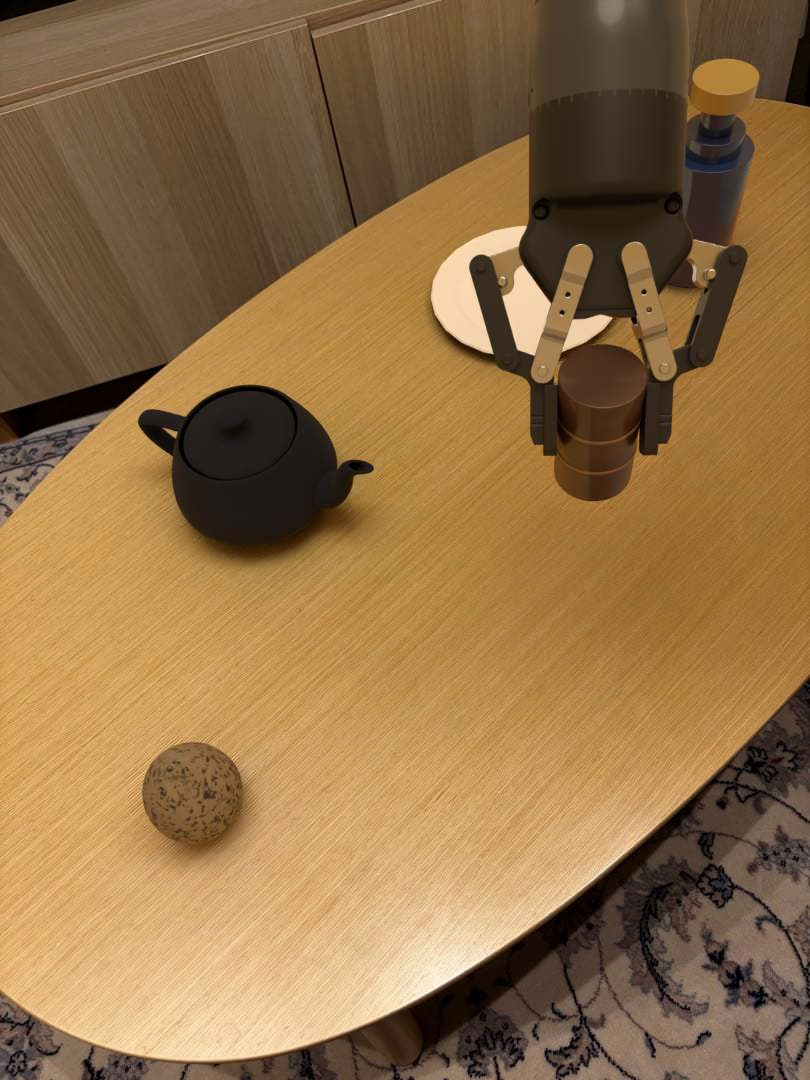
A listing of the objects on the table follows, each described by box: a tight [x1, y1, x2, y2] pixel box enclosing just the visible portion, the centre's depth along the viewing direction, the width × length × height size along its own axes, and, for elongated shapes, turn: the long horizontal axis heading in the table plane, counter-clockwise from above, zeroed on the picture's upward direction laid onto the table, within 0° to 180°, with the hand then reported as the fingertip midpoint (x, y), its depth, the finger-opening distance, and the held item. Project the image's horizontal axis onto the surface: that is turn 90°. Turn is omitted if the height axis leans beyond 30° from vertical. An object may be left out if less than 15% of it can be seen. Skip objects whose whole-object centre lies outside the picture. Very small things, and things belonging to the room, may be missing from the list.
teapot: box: [137, 384, 375, 548], centre depth 80 cm, size 25×16×12 cm, turn 67°
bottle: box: [668, 58, 760, 289], centre depth 87 cm, size 8×8×21 cm
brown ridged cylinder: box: [553, 343, 647, 502], centre depth 47 cm, size 4×4×8 cm
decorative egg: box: [141, 741, 244, 845], centre depth 64 cm, size 7×7×10 cm
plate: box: [430, 225, 614, 356], centre depth 95 cm, size 21×21×2 cm
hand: (599, 452), depth 46 cm, fingers closed on brown ridged cylinder, 4 cm apart
